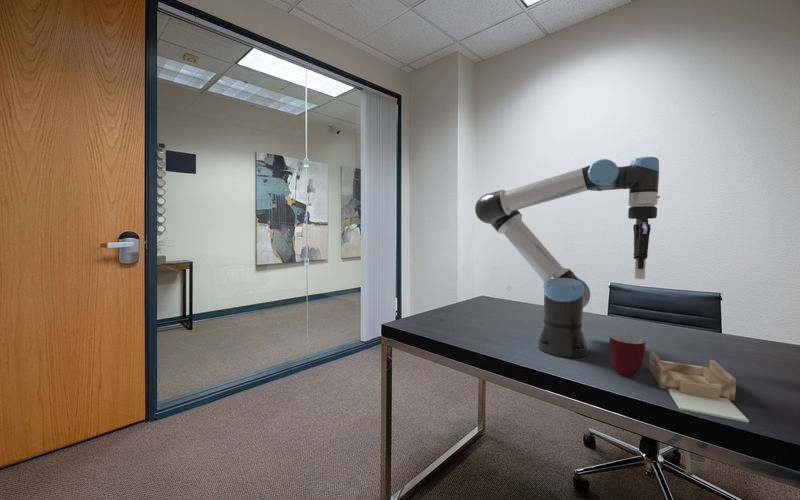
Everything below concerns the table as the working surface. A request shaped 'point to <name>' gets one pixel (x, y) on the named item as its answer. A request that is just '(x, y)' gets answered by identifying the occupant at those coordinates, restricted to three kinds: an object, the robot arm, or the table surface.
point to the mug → (626, 354)
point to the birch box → (692, 375)
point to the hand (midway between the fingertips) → (639, 278)
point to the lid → (705, 400)
